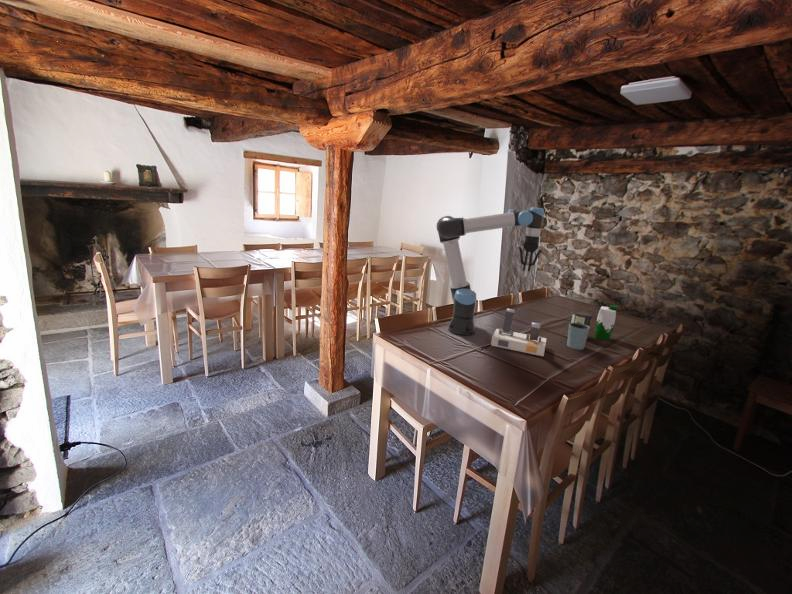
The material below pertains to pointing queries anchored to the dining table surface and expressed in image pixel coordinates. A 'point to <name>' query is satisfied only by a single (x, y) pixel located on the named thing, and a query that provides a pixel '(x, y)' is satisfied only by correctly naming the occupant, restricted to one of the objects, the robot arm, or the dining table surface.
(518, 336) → the console
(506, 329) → the left paddle
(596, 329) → the milk carton
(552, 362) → the dining table surface
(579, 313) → the coffee can
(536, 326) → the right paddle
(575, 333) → the drinking glass
